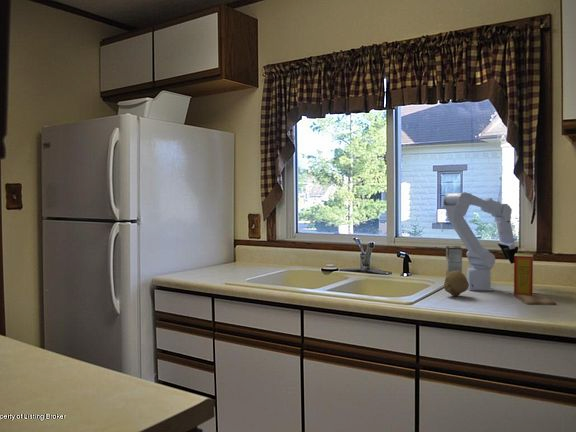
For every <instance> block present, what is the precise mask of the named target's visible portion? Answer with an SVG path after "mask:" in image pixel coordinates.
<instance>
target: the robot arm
mask: <svg viewBox="0 0 576 432" xmlns="http://www.w3.org/2000/svg"><path fill="white" fill-rule="evenodd" d="M442 206H443V207H444V209H445V211H446V215H447V219H448V222H449V223H450V225H451V226H452V227H453V229H454V231H455V232H456V234H457V235H458V237H459V238H460V240H461V243H463V245H464V246H465V248H466V249H467V251H466V255H465V256H466V257H467V260H468V263H469V265H470V267H469V268H467V269H466V275H465V277H466V279H467V281H468V283H469V287H468V289H467V290H469V291H484V292H485V291H494V288H492V287H491V286H492V281H491V279H492V269H493V267H494V266H495V264H496V256H495V254H494V253H493V252H490V251H489V249H488V248H486V247H484V246H483V245H481V243H480V241H479V239H478V238H477V237H476V235H475V233H474V231H473V230H472V228H471V227H470V225H469V224H468V222H467V220H466V219H465V218H464V217H465V216H466V214H467V213H468V210H469V208H470V206H476V207H478V208H480V210H481V211H482V212H484V213H487V214H490V215H491V216H492V217H494V219H495V224H496V230H497V233H498V240H499V241H498V242H497V245H498V247H499V248H500V249H501V252H502V254H503V256H504V258H505V260H506V259H507V260H508V261H509V263H510V264H512V265H514V255H515V253H518V250H519V247H518V246H515V242H516V241H518V239H517V238H516V237H514V233H513V228H512V222H511V219H512V212H513V209H512V208H511V206H510V205H509V204H507V203H502V202H501V201H500V200H499V201H498V200H497V201H496V200H493V198H492V197H487V198H484V199H483V198H481V197H478V196H475V195H473V194H472V193H468V192H465V191H463V192H447V193H446V194H445V195H444V196H443V201H442Z"/></svg>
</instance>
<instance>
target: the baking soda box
mask: <svg viewBox="0 0 576 432" xmlns="http://www.w3.org/2000/svg"><path fill="white" fill-rule="evenodd" d="M533 293H534V253H521V252H519V253H518V252H517V253H515V255H514V263H513V296H514V297H515V295H534V294H533Z"/></svg>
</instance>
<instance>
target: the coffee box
mask: <svg viewBox="0 0 576 432" xmlns="http://www.w3.org/2000/svg"><path fill="white" fill-rule="evenodd" d="M462 267H463V248H462V246H460V245H446V246H445V274H446V275H445V277H446V276H447V275H448V273H450V272H452V271H460V272H461V273H463V268H462Z"/></svg>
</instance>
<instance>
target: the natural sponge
mask: <svg viewBox="0 0 576 432" xmlns="http://www.w3.org/2000/svg"><path fill="white" fill-rule="evenodd" d="M468 287H469V283H468V281H467V279H466V275H465V274H464V273H463V272H462V273H461V272H460V271H452V272H450V273H448V275H447V276H446V275H445V280H444V283H443V288H444V290H445V292H446V293H448V294H450V295H451V296H452V297H458V296H460V295H461V294H463V293H464V292H466V291H467V290H469V289H468Z"/></svg>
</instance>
